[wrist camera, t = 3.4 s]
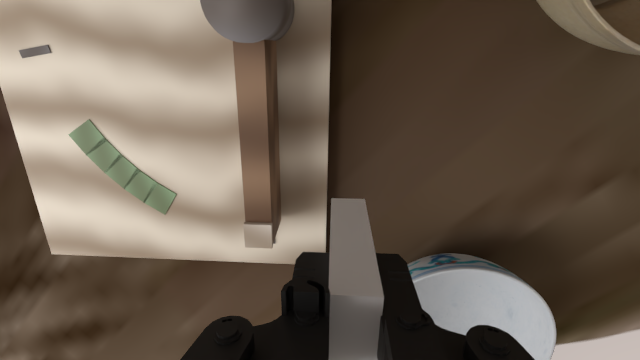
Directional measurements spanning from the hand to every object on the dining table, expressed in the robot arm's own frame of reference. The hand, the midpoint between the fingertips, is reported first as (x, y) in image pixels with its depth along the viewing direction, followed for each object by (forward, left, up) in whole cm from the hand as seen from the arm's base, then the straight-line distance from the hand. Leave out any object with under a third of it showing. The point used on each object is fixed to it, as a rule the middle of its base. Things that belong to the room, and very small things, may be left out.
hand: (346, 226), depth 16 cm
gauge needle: (-3, -6, -13) cm, 15 cm away
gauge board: (-2, -15, -15) cm, 21 cm away
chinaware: (+15, +10, -16) cm, 24 cm away
